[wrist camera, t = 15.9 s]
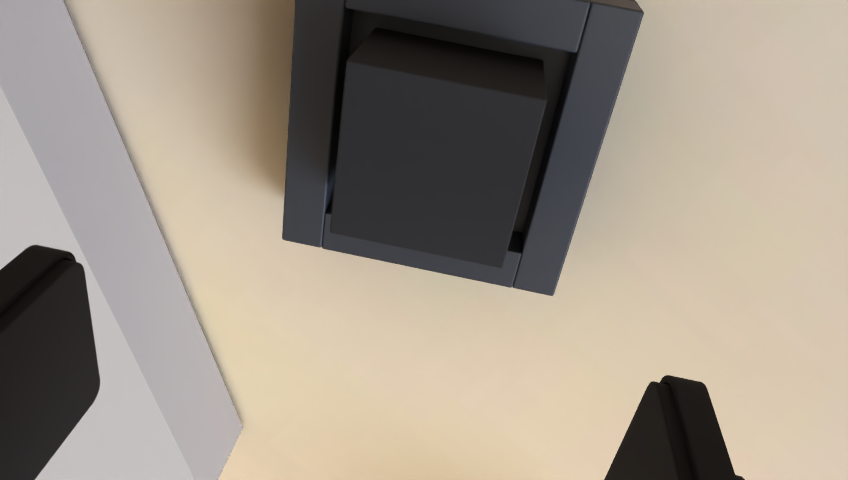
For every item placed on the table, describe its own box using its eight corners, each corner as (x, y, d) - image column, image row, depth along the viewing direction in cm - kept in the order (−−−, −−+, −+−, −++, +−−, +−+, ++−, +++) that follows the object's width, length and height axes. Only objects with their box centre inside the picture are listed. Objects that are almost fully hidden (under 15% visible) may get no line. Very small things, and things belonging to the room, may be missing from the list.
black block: (357, 179, 24) (328, 233, 21) (374, 26, 21) (346, 60, 18) (505, 209, 24) (502, 269, 21) (544, 59, 21) (547, 99, 18)
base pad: (301, 208, 26) (281, 240, 24) (320, -65, 21) (297, -56, 19) (551, 260, 26) (553, 297, 24) (632, -5, 21) (644, 11, 19)
